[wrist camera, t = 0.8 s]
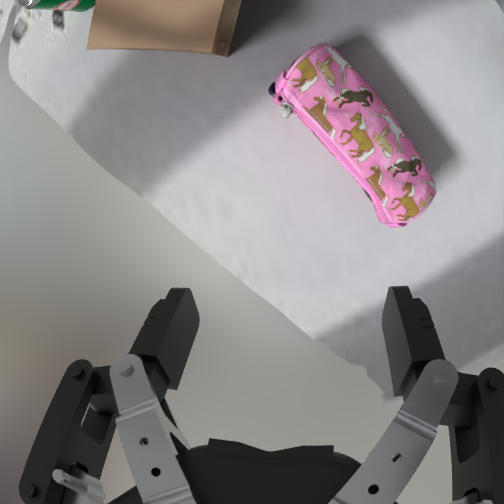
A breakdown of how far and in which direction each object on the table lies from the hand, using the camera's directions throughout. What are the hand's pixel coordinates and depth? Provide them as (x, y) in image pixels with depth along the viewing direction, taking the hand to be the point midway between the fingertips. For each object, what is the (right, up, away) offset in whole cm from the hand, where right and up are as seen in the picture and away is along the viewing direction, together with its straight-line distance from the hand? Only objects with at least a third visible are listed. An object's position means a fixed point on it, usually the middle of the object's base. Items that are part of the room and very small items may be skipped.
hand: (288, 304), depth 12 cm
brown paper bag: (-8, +34, +11) cm, 37 cm away
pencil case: (+11, +17, +21) cm, 29 cm away
